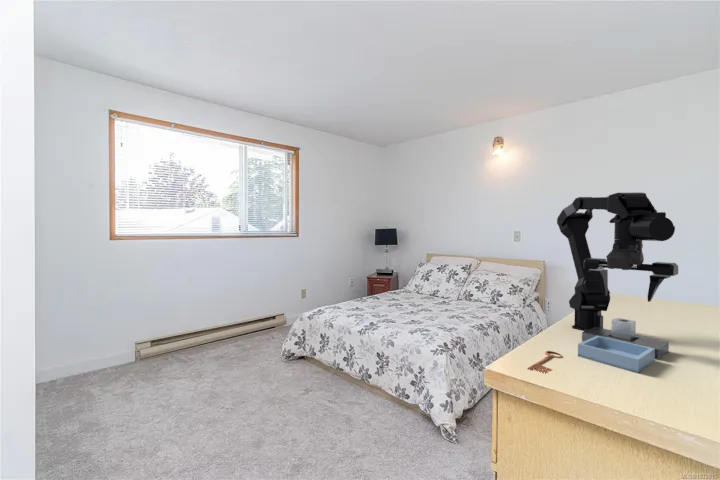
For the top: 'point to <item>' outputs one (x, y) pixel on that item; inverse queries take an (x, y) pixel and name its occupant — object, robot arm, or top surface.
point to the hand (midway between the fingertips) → (626, 298)
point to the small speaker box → (623, 329)
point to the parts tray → (617, 353)
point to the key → (544, 362)
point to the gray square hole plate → (658, 345)
